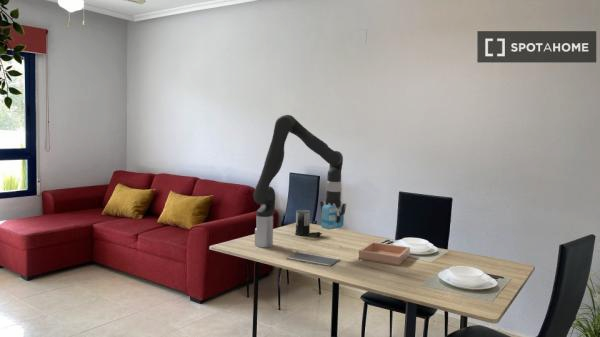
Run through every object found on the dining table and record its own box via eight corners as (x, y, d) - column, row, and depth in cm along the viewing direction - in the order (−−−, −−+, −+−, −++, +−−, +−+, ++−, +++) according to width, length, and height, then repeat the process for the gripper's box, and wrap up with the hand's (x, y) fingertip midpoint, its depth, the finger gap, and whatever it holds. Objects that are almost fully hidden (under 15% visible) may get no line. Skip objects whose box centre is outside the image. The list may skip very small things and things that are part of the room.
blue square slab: (327, 230, 230) (328, 206, 228) (321, 228, 233) (321, 205, 232) (343, 227, 237) (344, 204, 236) (337, 225, 241) (338, 203, 240)
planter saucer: (358, 259, 231) (358, 250, 231) (371, 249, 249) (371, 241, 248) (399, 265, 221) (399, 257, 221) (409, 255, 239) (410, 247, 238)
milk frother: (294, 232, 285) (295, 209, 283) (319, 232, 286) (319, 209, 285) (296, 238, 270) (297, 214, 269) (322, 238, 272) (323, 213, 271)
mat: (286, 258, 229) (286, 257, 229) (298, 253, 240) (298, 251, 240) (329, 266, 218) (329, 265, 218) (339, 260, 228) (339, 259, 228)
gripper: (318, 189, 233) (316, 221, 235) (344, 192, 226) (342, 225, 228) (324, 187, 240) (322, 218, 241) (349, 190, 233) (348, 222, 235)
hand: (332, 221), depth 235 cm, fingers closed on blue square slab, 5 cm apart
